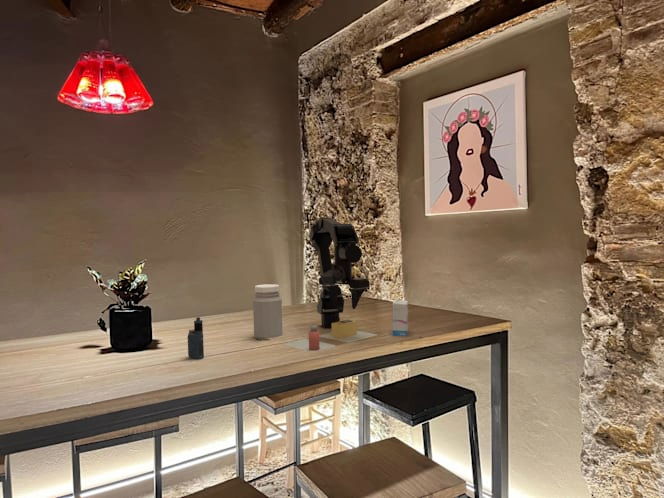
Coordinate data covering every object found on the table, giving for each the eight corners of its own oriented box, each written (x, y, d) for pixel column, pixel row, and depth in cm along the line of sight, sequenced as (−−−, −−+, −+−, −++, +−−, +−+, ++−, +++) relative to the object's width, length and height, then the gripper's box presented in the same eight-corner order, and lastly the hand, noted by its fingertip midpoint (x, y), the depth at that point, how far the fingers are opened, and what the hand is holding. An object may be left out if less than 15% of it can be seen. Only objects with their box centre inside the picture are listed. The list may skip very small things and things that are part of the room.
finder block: (331, 336, 160) (331, 322, 160) (348, 332, 166) (348, 318, 166) (340, 338, 157) (340, 323, 157) (356, 334, 163) (356, 320, 163)
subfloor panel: (280, 347, 151) (280, 344, 151) (347, 331, 172) (347, 329, 172) (311, 355, 141) (311, 352, 141) (378, 337, 162) (378, 334, 161)
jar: (288, 336, 166) (287, 285, 165) (266, 342, 159) (264, 288, 158) (270, 333, 172) (268, 283, 172) (248, 338, 165) (246, 286, 164)
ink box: (407, 339, 159) (406, 303, 158) (392, 338, 160) (391, 303, 159) (408, 333, 167) (408, 299, 167) (394, 333, 168) (393, 299, 168)
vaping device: (199, 360, 138) (197, 318, 138) (186, 357, 141) (185, 317, 141) (205, 357, 141) (204, 317, 140) (193, 355, 143) (192, 315, 143)
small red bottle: (306, 349, 144) (306, 326, 144) (314, 347, 146) (314, 324, 146) (313, 351, 142) (313, 327, 142) (321, 348, 144) (321, 325, 144)
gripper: (306, 261, 162) (307, 307, 162) (346, 263, 148) (347, 314, 149) (330, 259, 169) (331, 303, 170) (370, 261, 156) (371, 309, 157)
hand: (343, 307), depth 161 cm, fingers open, 9 cm apart
